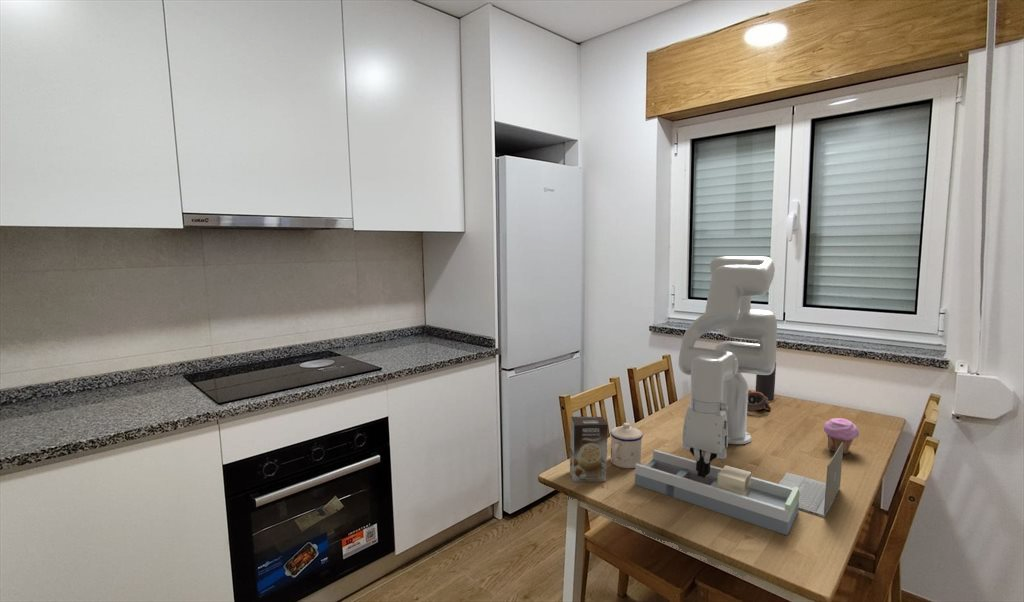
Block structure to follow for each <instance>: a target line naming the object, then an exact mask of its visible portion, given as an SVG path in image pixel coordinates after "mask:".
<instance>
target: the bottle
mask: <svg viewBox="0 0 1024 602" xmlns="http://www.w3.org/2000/svg"><path fill="white" fill-rule="evenodd" d="M776 369H777V362H776V363H775V369H774V371H773V372H772V373H771V374H770V375H757V374H755V391H754V392H760V393H762V394H763V395H764V396H766V397H767V398H768V401H772V400H774V399H775V386H776V373H777V372H776ZM756 397H758V396H756Z"/></svg>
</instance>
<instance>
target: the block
mask: <svg viewBox="0 0 1024 602" xmlns="http://www.w3.org/2000/svg"><path fill="white" fill-rule="evenodd" d="M751 477H752V472H751V471H749V470H745V469H740V468H737V467H733V466H729V465H727V464H726V465H724V466H723V468H722V470H721V471H720V472H719V473H718V483H717V488H720V489H723V490H726V491H730V492H733V493H736V494H739V495H743V496H746V497H747V495H748V494H749V493H750V486H751Z"/></svg>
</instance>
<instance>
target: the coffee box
mask: <svg viewBox="0 0 1024 602" xmlns="http://www.w3.org/2000/svg"><path fill="white" fill-rule="evenodd" d="M608 427H609V425H608V422H607V421H606V419H604V417H603V416H571V417H570V447H569V448H570V449H569V451H570V453H569V473H570V477H571V479H572V481H573V482H575V483H576V482H578V483H579V482H581V483H583V482H587V483H588V482H589V483H590V482H607V469H608V468H607V464H608V462H607V461H608V460H607V459H608V432H609V431H608V430H609V429H608Z"/></svg>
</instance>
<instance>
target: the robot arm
mask: <svg viewBox="0 0 1024 602" xmlns="http://www.w3.org/2000/svg"><path fill="white" fill-rule="evenodd" d="M709 271H710V274H711V277H710V278H711V279H710V284H709V291H708V294H707V300H706V306H705V311H704V312H703V313H702V315H700V316H698V317H697V318H696V319H695V320H694V321H692V323H690V325H689V326H688V327H687V328H686V330H685V332H684V334H683V337H682V341H681V344H680V349H679V350H680V351H679V355H678V367H679V370H680V371H681V372H682V373H683V374H684V375H687V376H690V397H689V405H688V406H687V408H686V412H685V416H684V420H683V427H682V436H681V437H682V438H681V440H682V445H681V447H682V448H683V449H685V450H687V451H689V452H690V453H691V455H692V456H693V457H694V461H696V471H698V476H699V477H700V476H701V477H702V478H705V477H706V476H707V474H709V473H710V465H711V462H713V460H715V459H721V460H722V459H726V458H727V455H728V454H727V449H728V446H729V445H745V444H749V443H750V442H751V441H752V435H751V434H750V432H748V431H747V422H748V417H747V416H748V410H747V405H748V391H749V385H748V381H747V380H746V378H745V377H744V376H743V374H749V375H750V374H751V375H756V374H757V375H770V374H771V373H772V372H773V371H774V369H775V363H776V364H777V362H776V360H777V339H778V338H777V337H778V322H777V317H776V315H775V313H773V312H772V311H770V310H765V309H752V308H751V304H752V303H751V302H752V301H751V300H752V299H751V298H752V297H764V296H765V295H766V294H767V293H768V291H769V289H770V286H771V284H772V282H773V279H774V276H775V272H776V271H775V263H774V262H773V260H772V259H771V258H770V257H768V256H737V255H729V256H728V255H727V256H726V255H725V256H717V257H713V259H712V260H711V261H710V264H709ZM718 329H720V333H721V335H723V336H724V337H726V338H731V339H737V340H745V342H744V341H734V340H733V341H732V340H727V341H726V340H725V341H722V342H719V343H718V344H717V345H716V346H715V348H714V349H712V348H705V347H703V348H702V347H695V346H694V345H695V344H696V341H698V339H699V338H701V337H702V336H703V335H705V334H708V333H710V332H712V331H716V330H718ZM747 340H748V341H756V342H757V343H752V342H746V341H747ZM728 444H729V445H728ZM704 452H705V453H704ZM704 454H705V455H704Z"/></svg>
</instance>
